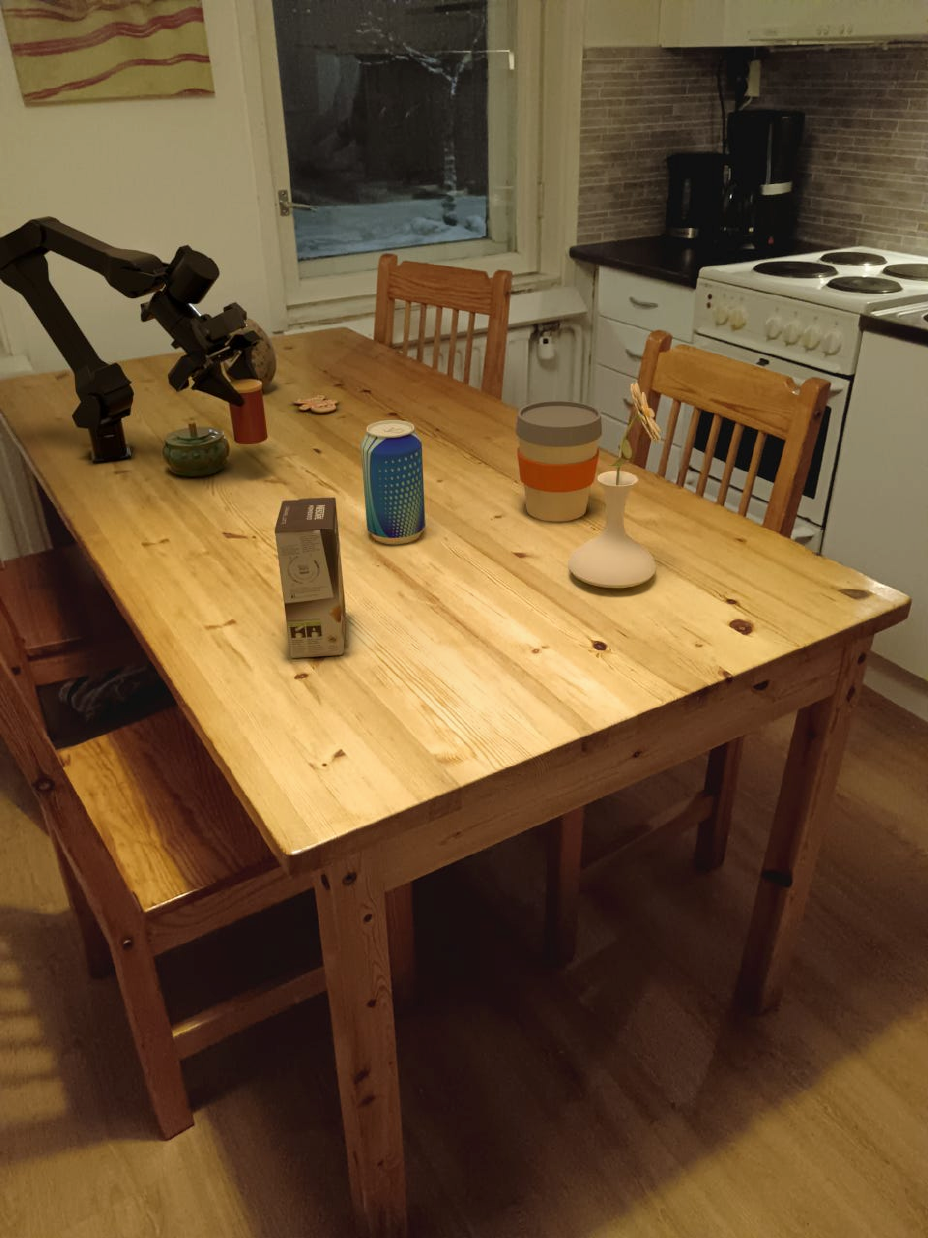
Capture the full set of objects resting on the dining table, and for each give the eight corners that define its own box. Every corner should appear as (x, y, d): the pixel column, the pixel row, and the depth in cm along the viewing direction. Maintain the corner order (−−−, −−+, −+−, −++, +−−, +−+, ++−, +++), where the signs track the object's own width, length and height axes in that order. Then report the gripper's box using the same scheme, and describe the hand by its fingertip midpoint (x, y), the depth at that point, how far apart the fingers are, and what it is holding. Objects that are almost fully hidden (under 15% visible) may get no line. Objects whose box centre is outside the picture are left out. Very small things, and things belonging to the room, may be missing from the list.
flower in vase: (634, 605, 120) (650, 410, 107) (552, 583, 125) (558, 395, 112) (672, 564, 129) (691, 380, 117) (595, 545, 134) (605, 368, 122)
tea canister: (239, 432, 159) (231, 378, 154) (272, 433, 158) (265, 379, 154) (228, 444, 154) (220, 389, 149) (263, 444, 153) (256, 389, 149)
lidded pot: (163, 462, 166) (154, 417, 162) (227, 453, 169) (220, 408, 165) (169, 484, 157) (160, 437, 153) (237, 474, 160) (230, 428, 156)
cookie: (325, 392, 196) (347, 404, 189) (325, 396, 197) (347, 408, 189) (287, 399, 192) (309, 411, 185) (288, 404, 193) (309, 416, 185)
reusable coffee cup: (552, 486, 153) (554, 394, 146) (614, 508, 145) (621, 412, 138) (497, 510, 146) (497, 414, 138) (560, 534, 138) (564, 434, 130)
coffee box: (345, 655, 111) (333, 529, 103) (289, 659, 110) (273, 532, 102) (347, 616, 119) (336, 495, 111) (295, 619, 118) (280, 498, 110)
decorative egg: (254, 380, 208) (245, 309, 200) (290, 388, 202) (282, 316, 194) (216, 393, 200) (205, 320, 192) (252, 402, 195) (242, 327, 187)
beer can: (381, 551, 134) (373, 442, 126) (358, 529, 141) (350, 424, 133) (435, 538, 137) (431, 431, 129) (410, 517, 144) (405, 414, 136)
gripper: (170, 301, 138) (245, 384, 140) (243, 276, 153) (310, 352, 155) (136, 351, 145) (208, 430, 147) (209, 323, 160) (274, 395, 161)
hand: (252, 400), depth 152 cm, fingers closed on tea canister, 5 cm apart
